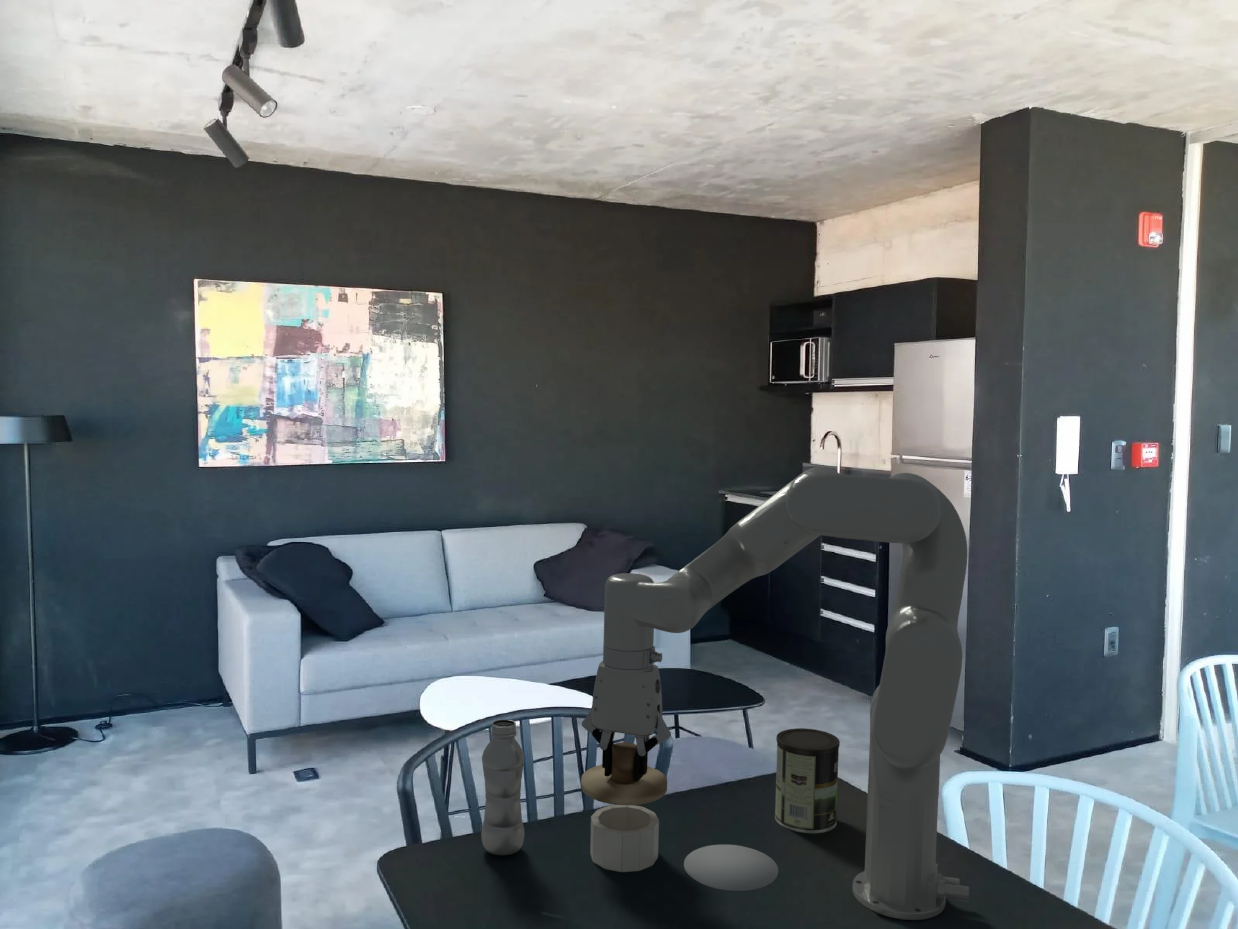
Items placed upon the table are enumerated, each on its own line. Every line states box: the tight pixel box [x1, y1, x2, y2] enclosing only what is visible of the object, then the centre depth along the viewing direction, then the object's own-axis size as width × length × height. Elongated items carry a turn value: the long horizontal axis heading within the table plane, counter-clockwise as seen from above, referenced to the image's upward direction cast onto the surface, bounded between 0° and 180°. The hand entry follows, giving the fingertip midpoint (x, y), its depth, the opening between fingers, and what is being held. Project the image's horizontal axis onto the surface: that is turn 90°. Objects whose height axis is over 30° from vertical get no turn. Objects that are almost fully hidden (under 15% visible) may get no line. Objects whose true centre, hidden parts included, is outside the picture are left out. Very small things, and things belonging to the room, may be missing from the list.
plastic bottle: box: [480, 718, 525, 856], centre depth 146 cm, size 6×7×20 cm
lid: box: [580, 741, 668, 806], centre depth 145 cm, size 13×13×6 cm
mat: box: [683, 844, 779, 892], centre depth 143 cm, size 14×14×1 cm
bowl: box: [589, 804, 660, 873], centre depth 145 cm, size 10×10×6 cm
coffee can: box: [774, 727, 841, 834], centre depth 159 cm, size 10×10×14 cm
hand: (624, 774), depth 145 cm, fingers closed on lid, 4 cm apart
